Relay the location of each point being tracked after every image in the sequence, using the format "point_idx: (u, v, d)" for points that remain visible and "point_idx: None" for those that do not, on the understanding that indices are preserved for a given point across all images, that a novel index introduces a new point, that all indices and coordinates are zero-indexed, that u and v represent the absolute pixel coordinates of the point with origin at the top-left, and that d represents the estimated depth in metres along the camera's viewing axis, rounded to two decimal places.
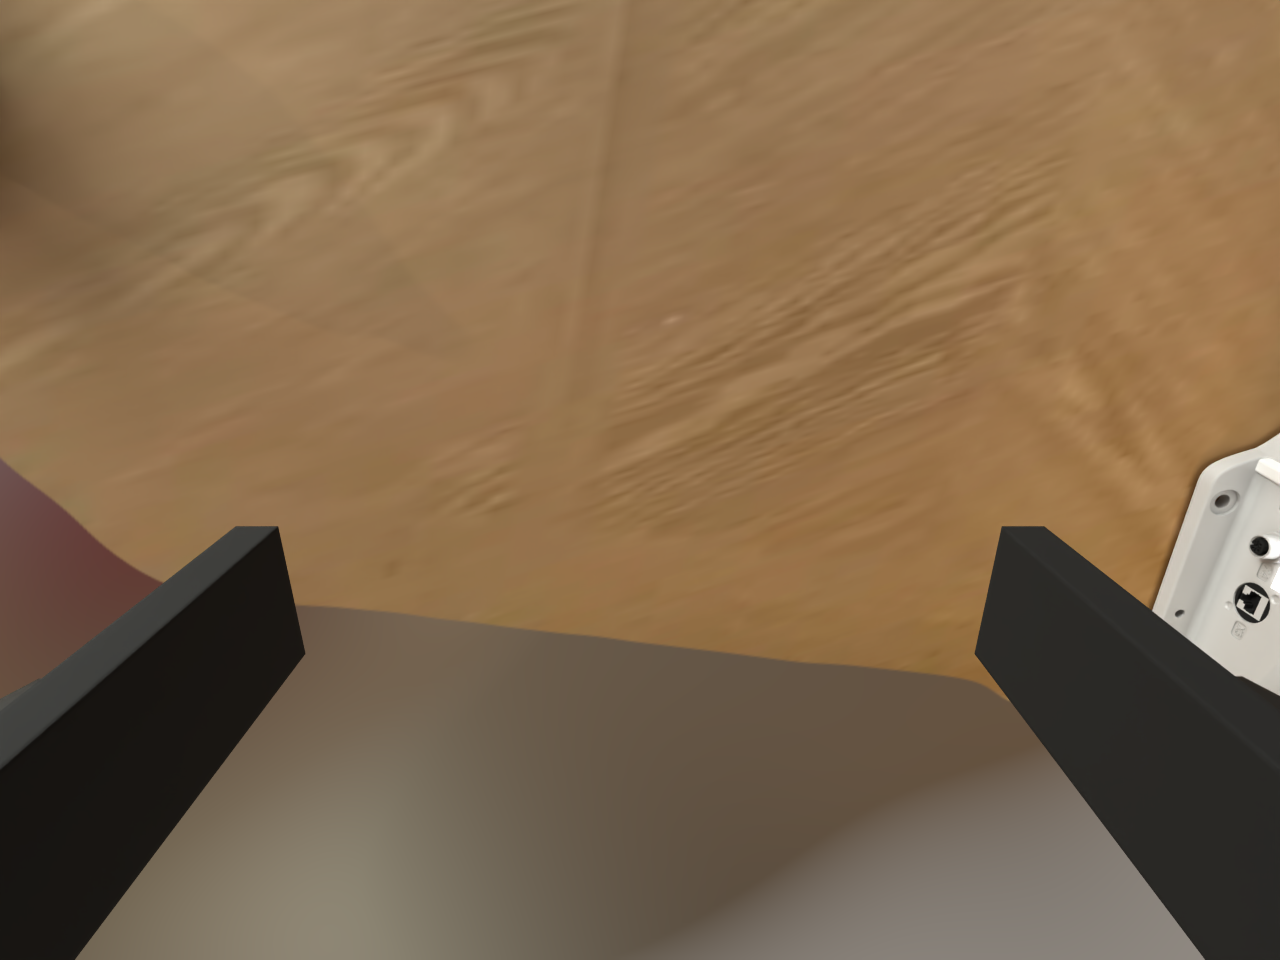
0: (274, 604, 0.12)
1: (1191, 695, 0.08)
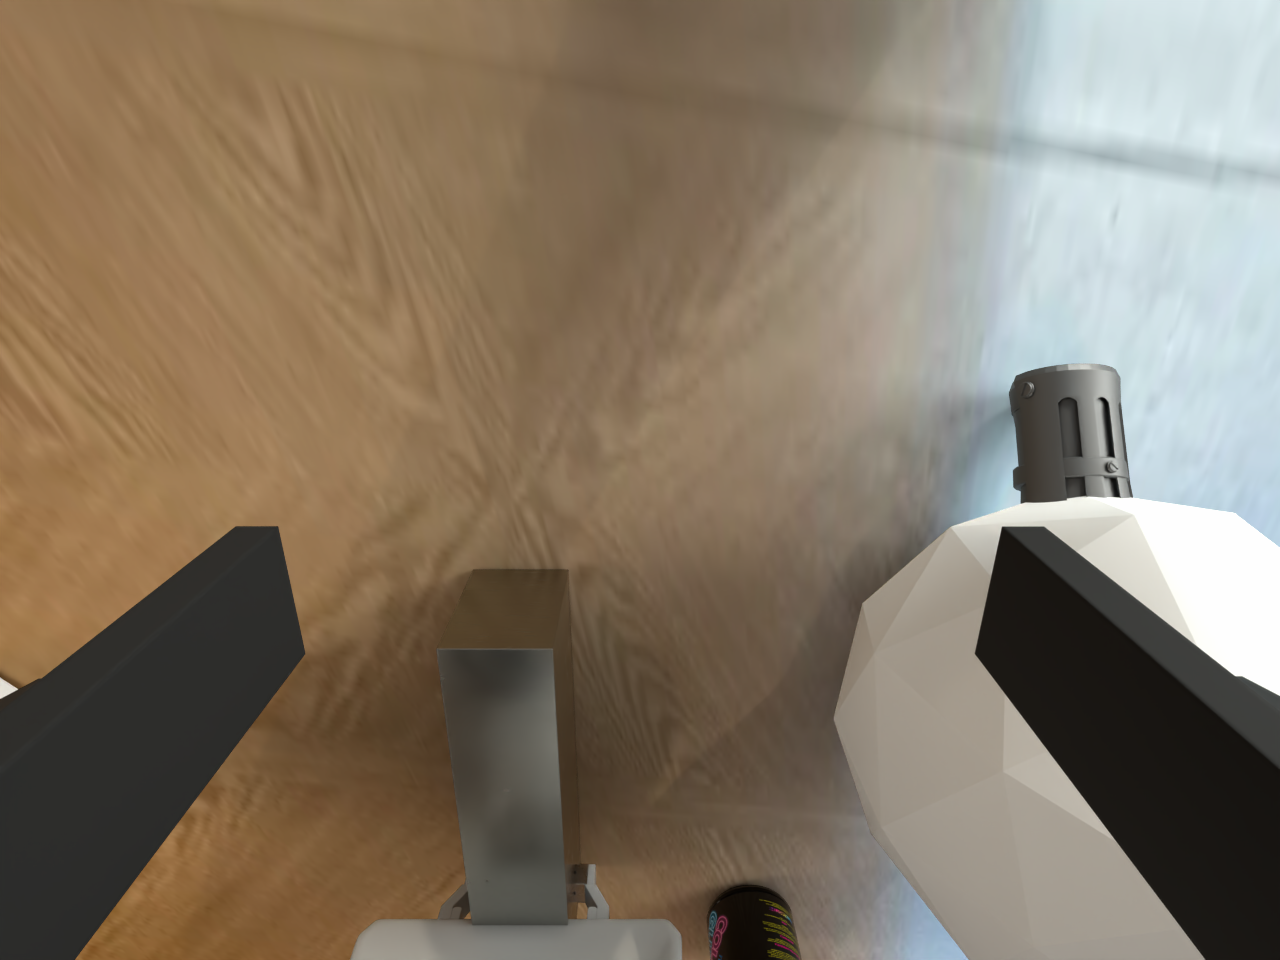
0: (274, 604, 0.12)
1: (1191, 695, 0.08)
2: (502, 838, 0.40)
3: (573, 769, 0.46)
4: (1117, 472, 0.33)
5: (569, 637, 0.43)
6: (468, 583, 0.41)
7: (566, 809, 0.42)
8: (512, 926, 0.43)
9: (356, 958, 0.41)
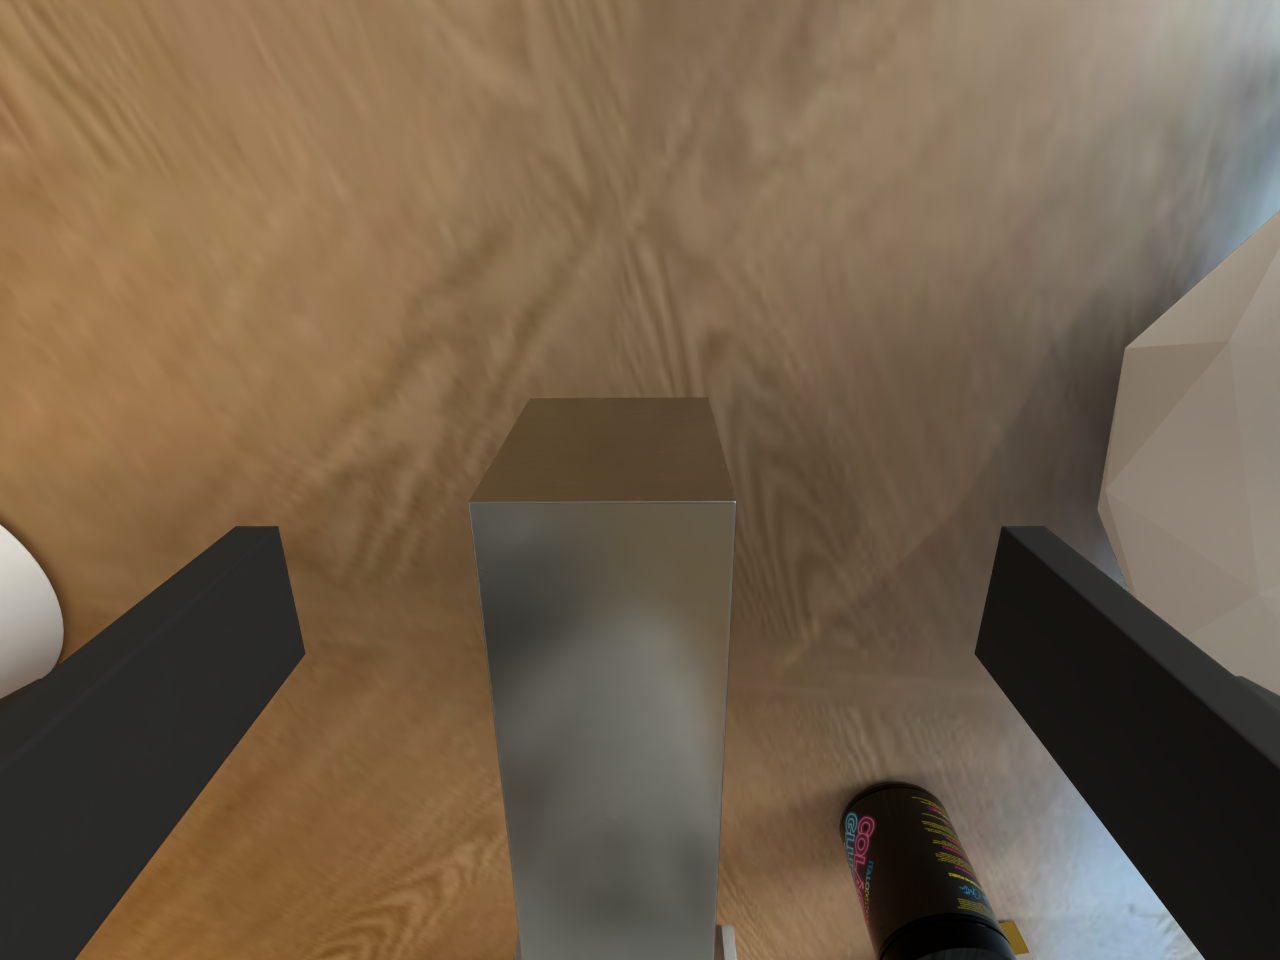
0: (274, 604, 0.12)
1: (1191, 695, 0.08)
2: (597, 905, 0.20)
3: None
4: None
5: None
6: (524, 413, 0.21)
7: None
8: None
9: None
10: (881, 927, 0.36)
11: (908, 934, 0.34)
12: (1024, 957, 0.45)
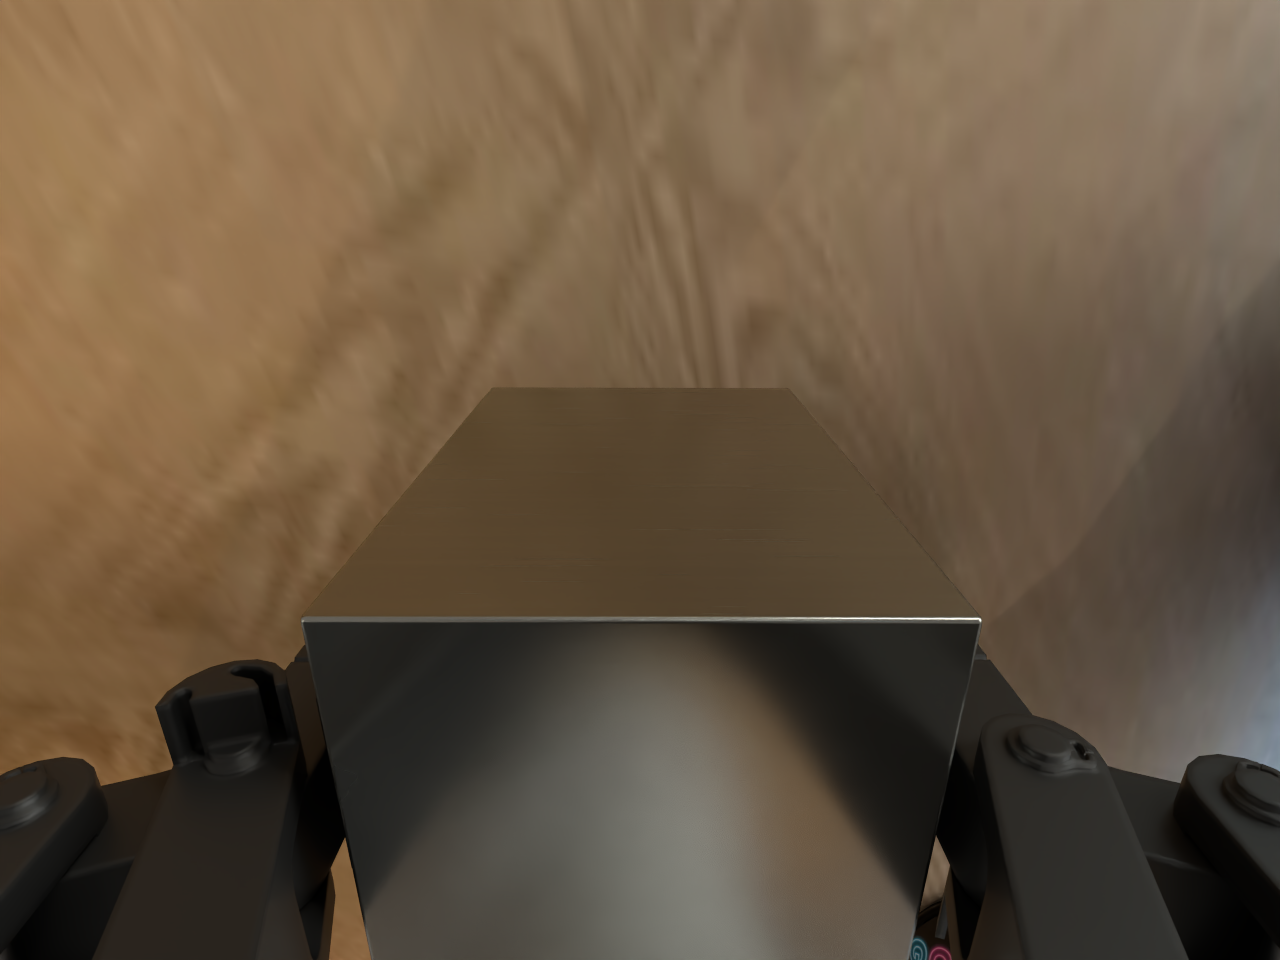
0: None
1: None
2: None
3: None
4: None
5: None
6: (478, 411, 0.12)
7: None
8: None
9: None
10: None
11: None
12: None
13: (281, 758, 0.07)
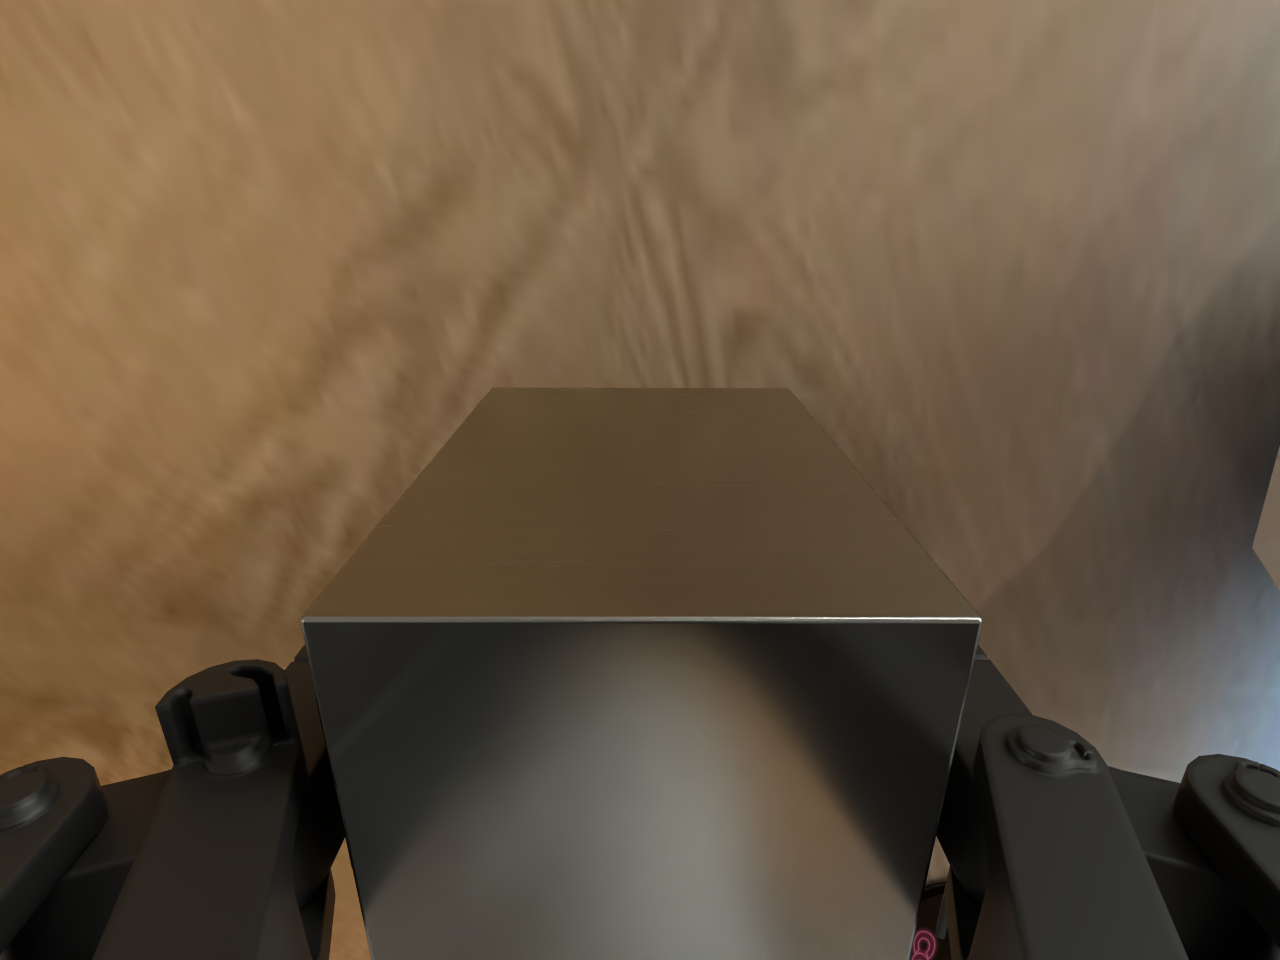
0: None
1: None
2: None
3: None
4: None
5: None
6: (478, 411, 0.12)
7: None
8: None
9: None
10: None
11: None
12: None
13: (281, 758, 0.07)
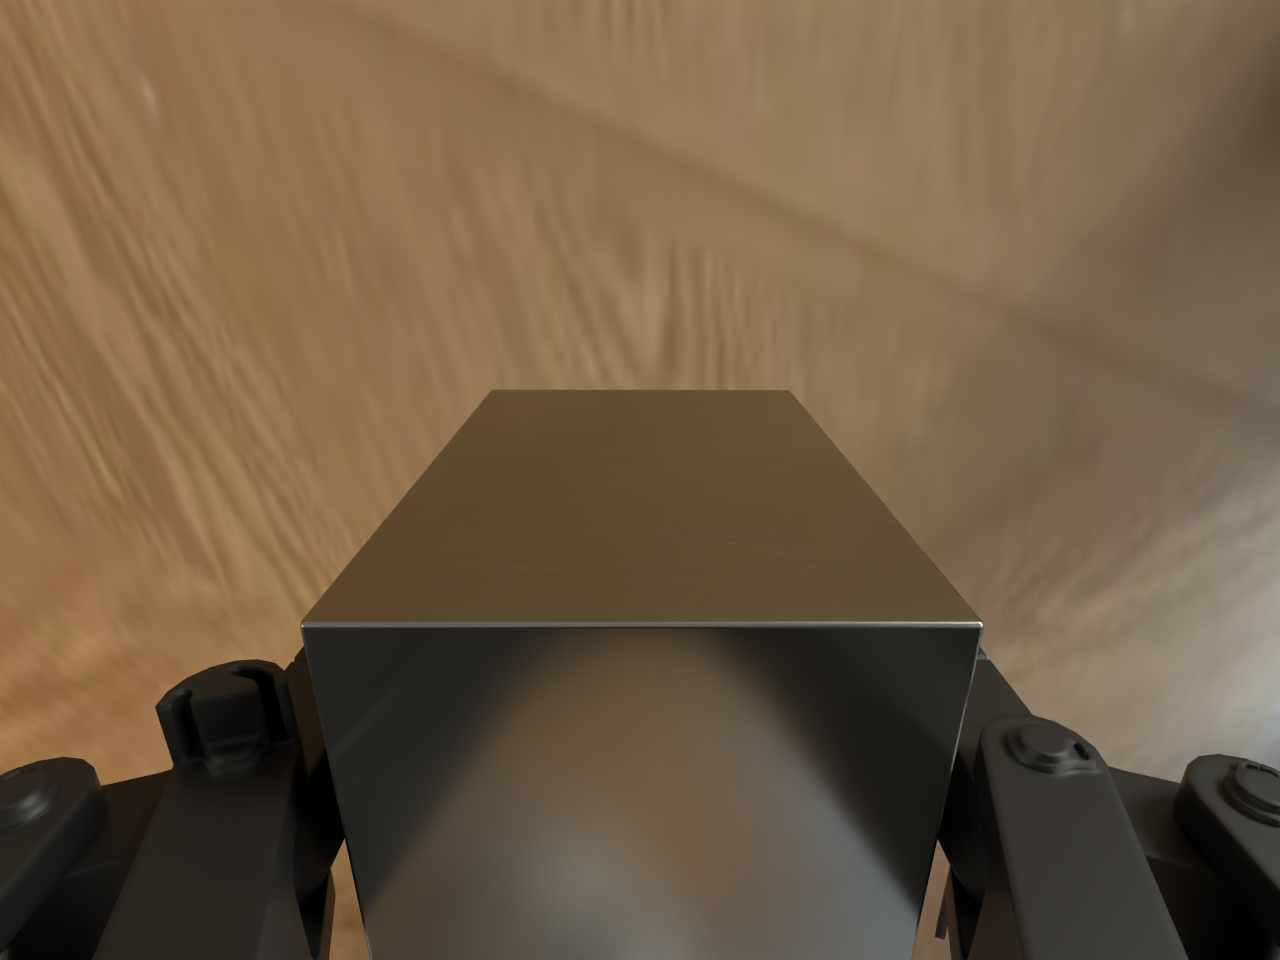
0: None
1: None
2: None
3: None
4: None
5: None
6: (478, 413, 0.12)
7: None
8: None
9: None
10: None
11: None
12: None
13: (281, 758, 0.07)
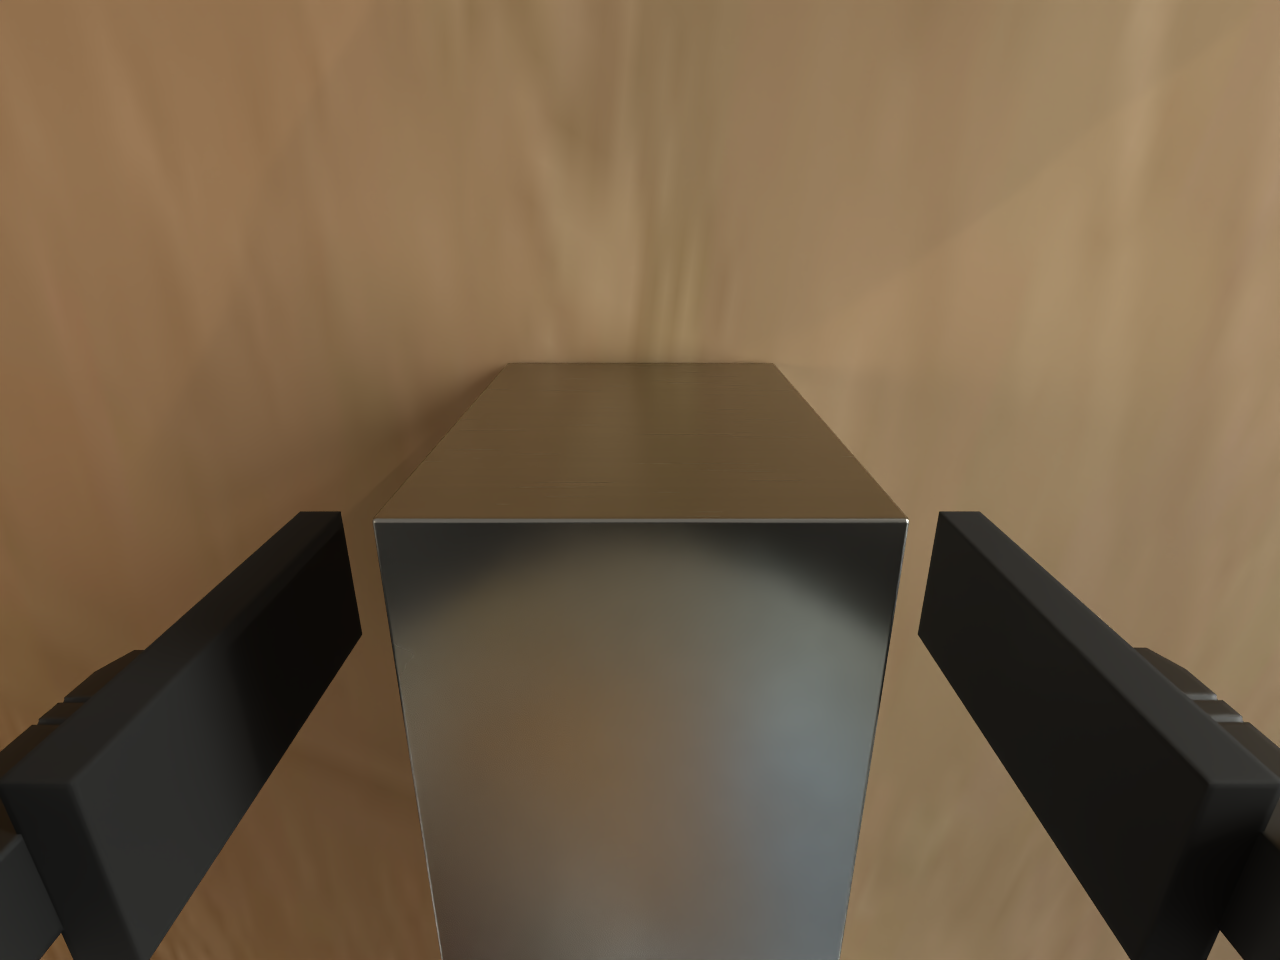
0: (337, 585, 0.13)
1: (1085, 661, 0.09)
2: None
3: None
4: None
5: None
6: (497, 381, 0.14)
7: None
8: None
9: None
10: None
11: None
12: None
13: None
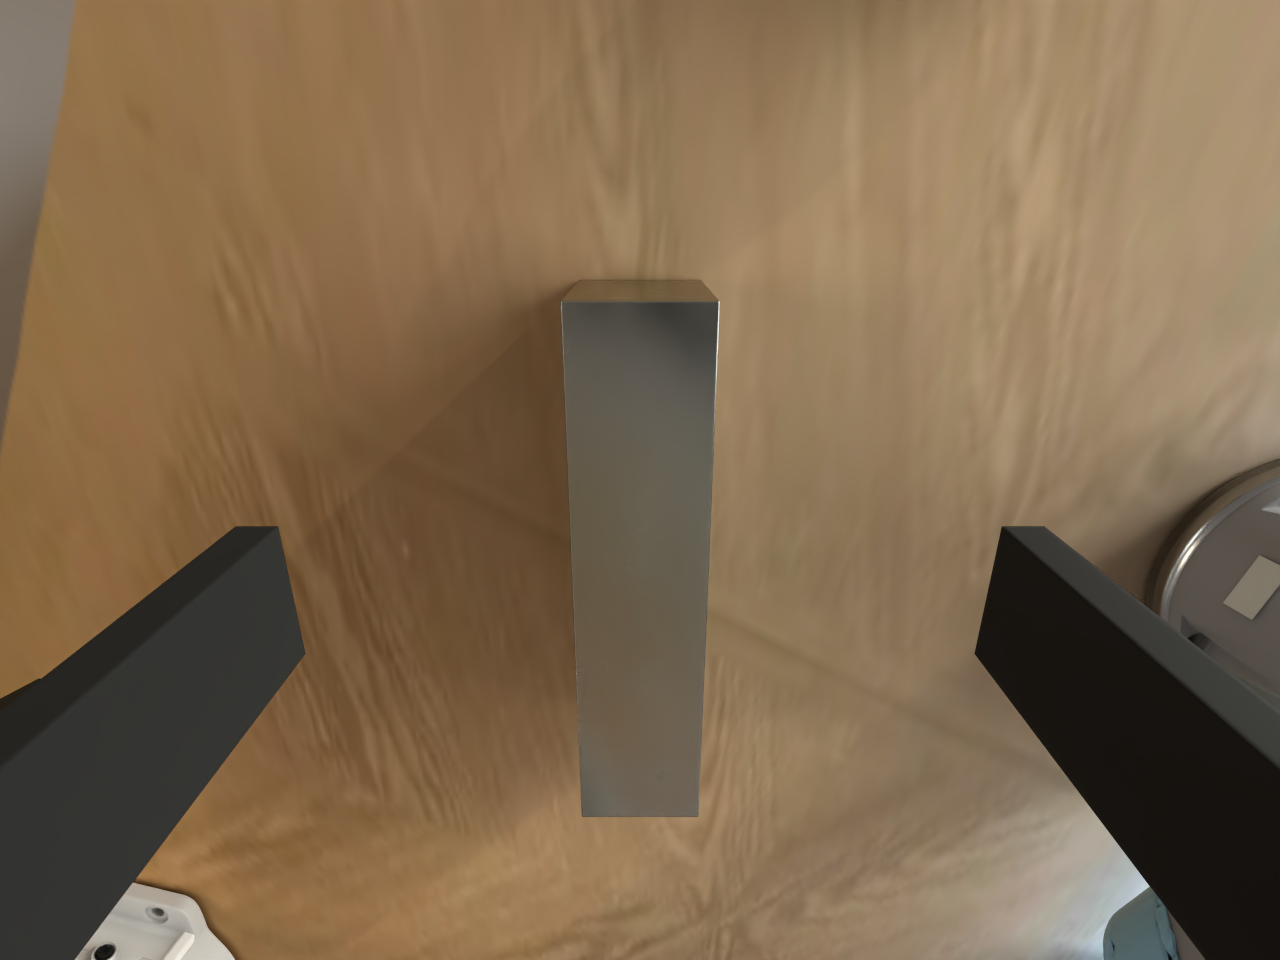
0: (274, 604, 0.12)
1: (1191, 695, 0.08)
2: (628, 604, 0.31)
3: None
4: None
5: None
6: (578, 283, 0.32)
7: None
8: None
9: None
10: None
11: None
12: None
13: None
